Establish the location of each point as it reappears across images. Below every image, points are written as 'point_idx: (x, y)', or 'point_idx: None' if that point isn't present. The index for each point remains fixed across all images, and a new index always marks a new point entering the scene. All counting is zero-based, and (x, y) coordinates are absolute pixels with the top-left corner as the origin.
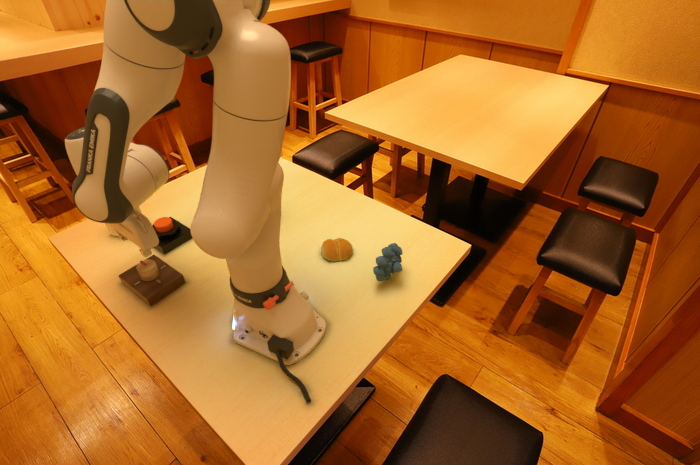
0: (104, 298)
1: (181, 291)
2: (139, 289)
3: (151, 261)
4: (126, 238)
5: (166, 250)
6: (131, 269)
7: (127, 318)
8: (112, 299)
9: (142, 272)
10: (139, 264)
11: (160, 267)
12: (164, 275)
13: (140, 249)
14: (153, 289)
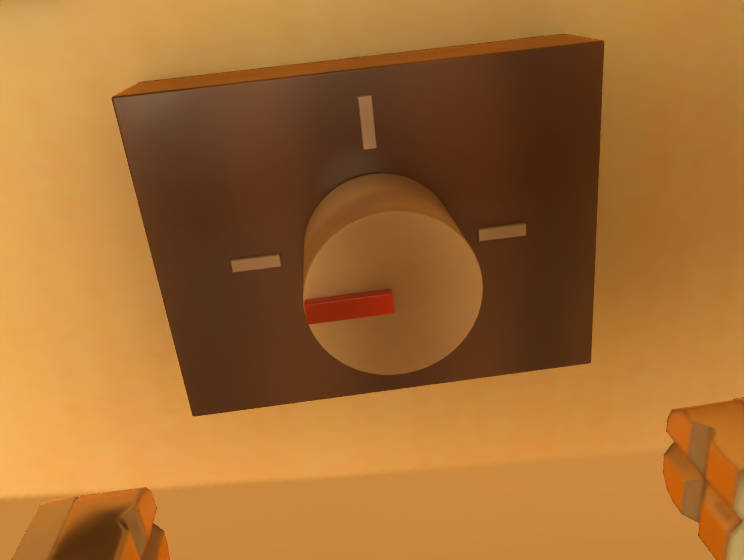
0: (265, 478)
1: (612, 108)
2: (464, 364)
3: (382, 237)
4: (149, 527)
5: None
6: (191, 325)
7: (526, 440)
8: (310, 451)
9: (448, 349)
10: (335, 335)
11: (350, 140)
12: (476, 164)
13: (732, 557)
14: (548, 295)
